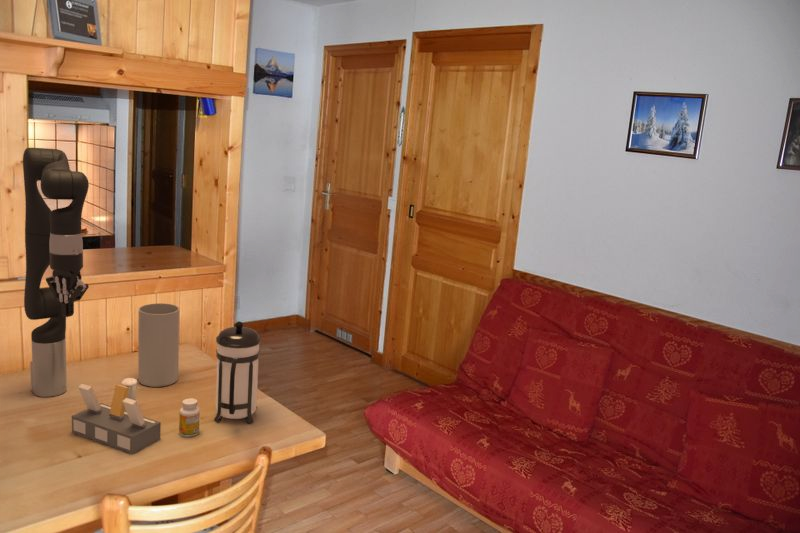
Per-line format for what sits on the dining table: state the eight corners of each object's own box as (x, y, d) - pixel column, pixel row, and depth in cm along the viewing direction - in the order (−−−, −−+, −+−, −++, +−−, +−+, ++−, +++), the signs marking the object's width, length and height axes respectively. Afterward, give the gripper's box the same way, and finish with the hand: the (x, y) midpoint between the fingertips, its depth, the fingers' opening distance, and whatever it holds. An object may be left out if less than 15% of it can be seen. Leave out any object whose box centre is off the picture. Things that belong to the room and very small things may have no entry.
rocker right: (130, 424, 177) (121, 400, 172) (134, 421, 178) (125, 397, 173) (143, 429, 175) (133, 404, 170) (147, 425, 176) (137, 401, 172)
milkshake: (134, 412, 195) (134, 380, 193) (118, 409, 196) (118, 377, 194) (143, 406, 200) (143, 375, 197) (127, 403, 201) (127, 372, 198)
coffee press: (197, 414, 197) (199, 319, 191) (242, 401, 209) (246, 311, 203) (229, 436, 186) (232, 336, 180) (275, 420, 198) (280, 326, 191)
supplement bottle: (178, 429, 187) (178, 398, 185) (198, 427, 189) (198, 396, 187) (180, 438, 182) (180, 406, 180) (200, 436, 184) (200, 404, 182)
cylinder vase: (163, 370, 227) (164, 301, 222) (185, 380, 220) (187, 309, 215) (130, 379, 217) (130, 307, 212) (153, 391, 210) (153, 316, 205)
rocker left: (87, 410, 183) (76, 386, 178) (91, 406, 184) (80, 383, 179) (99, 414, 181) (88, 390, 176) (102, 410, 182) (92, 387, 178)
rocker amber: (107, 416, 180) (114, 384, 180) (111, 415, 181) (118, 384, 181) (119, 420, 178) (126, 388, 178) (123, 419, 179) (130, 387, 180)
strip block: (71, 432, 180) (71, 415, 179) (101, 419, 189) (101, 402, 188) (132, 454, 172) (132, 436, 171) (160, 438, 181) (160, 421, 180)
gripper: (34, 248, 164) (36, 314, 168) (72, 256, 159) (74, 324, 163) (60, 244, 171) (61, 307, 175) (97, 252, 166) (98, 317, 170)
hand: (67, 315), depth 169 cm, fingers closed
